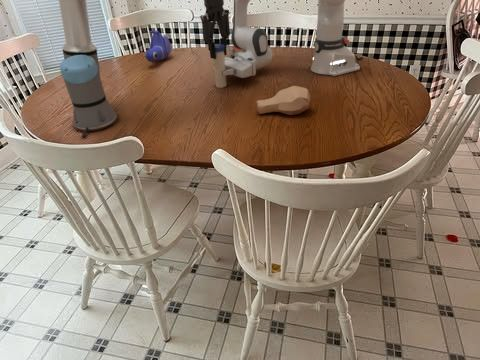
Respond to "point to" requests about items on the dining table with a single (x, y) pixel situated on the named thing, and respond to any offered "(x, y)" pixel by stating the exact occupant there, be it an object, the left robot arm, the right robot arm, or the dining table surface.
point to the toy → (158, 48)
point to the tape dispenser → (235, 50)
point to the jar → (219, 70)
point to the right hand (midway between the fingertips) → (218, 71)
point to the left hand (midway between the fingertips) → (218, 56)
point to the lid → (219, 47)
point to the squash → (286, 101)
